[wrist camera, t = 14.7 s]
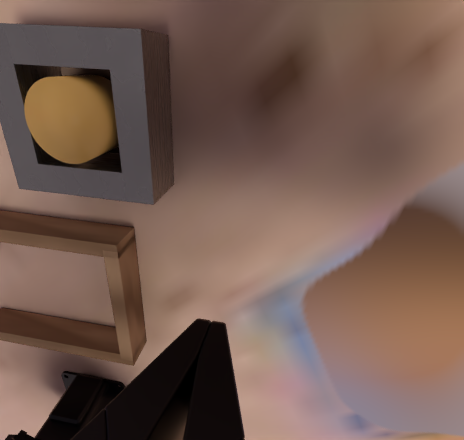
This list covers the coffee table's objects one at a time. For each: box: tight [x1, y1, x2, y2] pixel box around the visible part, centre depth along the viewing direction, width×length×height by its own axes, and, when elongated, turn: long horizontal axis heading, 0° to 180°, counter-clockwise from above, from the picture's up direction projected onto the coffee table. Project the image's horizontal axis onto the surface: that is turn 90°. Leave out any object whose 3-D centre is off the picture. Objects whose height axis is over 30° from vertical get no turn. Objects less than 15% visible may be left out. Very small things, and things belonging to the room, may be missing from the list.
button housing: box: [0, 23, 174, 205], centre depth 17 cm, size 8×8×3 cm
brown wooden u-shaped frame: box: [0, 210, 146, 366], centre depth 24 cm, size 11×14×2 cm
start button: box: [24, 75, 119, 164], centre depth 16 cm, size 4×4×3 cm
